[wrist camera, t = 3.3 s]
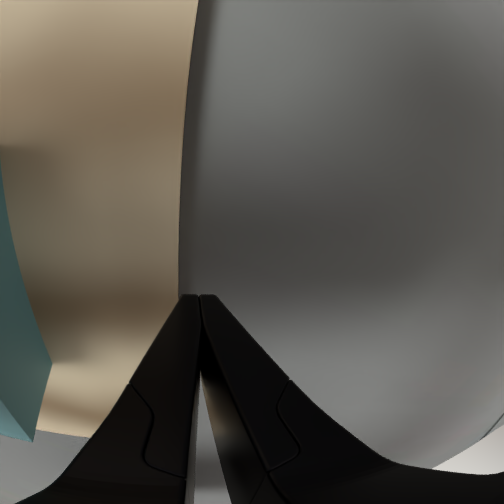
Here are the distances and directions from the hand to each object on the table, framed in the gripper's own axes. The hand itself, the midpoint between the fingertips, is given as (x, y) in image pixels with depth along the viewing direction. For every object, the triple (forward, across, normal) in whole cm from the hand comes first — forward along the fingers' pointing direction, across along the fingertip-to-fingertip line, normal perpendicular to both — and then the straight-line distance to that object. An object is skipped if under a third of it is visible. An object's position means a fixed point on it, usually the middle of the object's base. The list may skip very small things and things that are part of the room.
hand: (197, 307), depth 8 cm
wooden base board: (+2, +14, 0) cm, 14 cm away
